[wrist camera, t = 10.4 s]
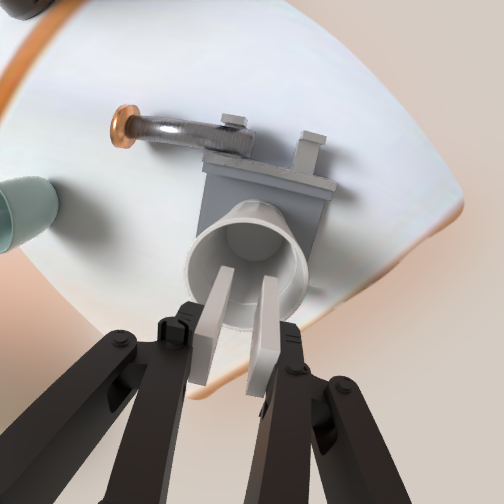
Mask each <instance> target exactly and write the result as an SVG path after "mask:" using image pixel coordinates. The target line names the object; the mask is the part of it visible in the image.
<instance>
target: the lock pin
mask: <svg viewBox="0 0 504 504" xmlns="http://www.w3.org/2000/svg"><path fill="white" fill-rule="evenodd" d="M255 133H256V132H254V131H249V130H244V129H239V128H233V127H228V126H222V125H216V124H209V123H203V122H196V121H188V120H180V119H172V118H162V117H152V116H140V111H139V109H138V107H137V106H135V105H122V106H120V107H119V108H118V109H117V110H116V112H115V114H114V116H113V119H112V122H111V127H110V137H111V141H112V144H113V145H114V146H115V147H117V148H125V149H128V148H130V147H131V146H132V145H133V144H134V143H135V141H136V140H144V141H153V142H161V143H168V144H175V145H182V146H189V147H195V148H201V149H207V150H213V151H218V152H224V153H229V154H234V155H239V156H244V157H249V158H250V156H251V153H252V149H253V144H254V140H255Z"/></svg>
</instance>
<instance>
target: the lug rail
mask: <svg viewBox="0 0 504 504" xmlns="http://www.w3.org/2000/svg"><path fill="white" fill-rule="evenodd" d="M221 122H223V123H225V126H228V127H233V128H239V129H244V130H248V129H247V128H246V126H247V122H248V120H247V119H246V117H240V116H235V115H229V114H222V118H221ZM325 142H326V136H323V135H319V134H316V133H312V132H308V131H302V132H301V135H300V139H299V140H297V144H296V148H295V152H294V157H293V161H292V165H291V169H289V168H285V167H281V166H277V165H272V164H268V163H263V162H259V161H254V160H249V159H245V158H242V156H239V155H234V154H229V153H224V152H219V153H213V152H209V153H204V155H203V160H202V161H203V162H209V163H214V164H219V165H225V166H230V167H235V168H240V169H245V170H249V171H254V172H259V173H263V174H268V175H272V176H276V177H281V178H285V179H289V180H293V181H297V182H301V183H305V184H309V185H313V186H317V187H321V188H324V189H328V190H332V191H335V190H336V186H337V182H335V181H332V180H330V179H328V178H324V177H321V176H317V175H313V173H314V169H315V164H316V160H317V156H318V152H319V148H320V145H323V144H325Z"/></svg>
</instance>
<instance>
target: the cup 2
mask: <svg viewBox="0 0 504 504" xmlns="http://www.w3.org/2000/svg"><path fill="white" fill-rule="evenodd" d="M221 266H226V267H230V268H235V269H234V274H233V279H232V284H231V289H230V294H229V299H228V303H227V308H226V312H225V316H224V319H223V323H222V327H225V328H228V329H231V330H236V331H244V332H253V323H254V314H255V311H256V307H257V303H258V299H259V295H260V291H261V287H262V284H263V280H264V276H265V275H266V276H271V277H275V278H278V297H279V321H283V322H284V321H285V320H287V319H288V318H289V317H290V316H291V315H292V314H293V313H294V312H295V311H296V310H297V309H298V308H299V306H300V305H301V303H302V301H303V299H304V297H305V294H306V291H307V288H308V281H309V272H308V266H307V262H306V259H305V256H304V254H303V252H302V250H301V248H300V246H299V245H298V243H297V241H296V240H295V238H294V236H293V234H292V233H291V231H290V229H289V227H288V225H287V223H286V221H285V218H284V216H283V214H282V213H281V211H280V210H279V209H278V208H277V207H276V206H275V205H273V204H272V203H270V202H268V201H265V200H261V199H249V200H245V201H243V202H241V203H239V204H237V205H236V206H235V207H234V208H233V209H232V210H231V211H230V212H229V213H227V214H226V215H225V216H224V217H222V218H221V219H220V220H218V221H217V222H216V223H214V224H213V225H211V226H210V227H209V228H207V229H206V230H204V231H203V232H202V233H201V234H200V235H199V236H198V237H197V238H196V239H195V241H194V242H193V243H192V245H191V247H190V249H189V251H188V253H187V256H186V259H185V264H184V281H185V286H186V289H187V292H188V294H189V296H190V298H191V300H192V302H194V303H198V304H202V305H206V302H207V300H208V297H209V295H210V292H211V290H212V287H213V285H214V283H215V280H216V278H217V275H218V273H219V271H220V268H221Z"/></svg>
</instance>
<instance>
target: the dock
mask: <svg viewBox="0 0 504 504" xmlns="http://www.w3.org/2000/svg"><path fill="white" fill-rule="evenodd" d="M202 172H206V173H207V176H206V182H205V187H204V193H203V198H202V204H201V210H200V216H199V222H198V228H197V234H196V238H197V237H198V236H199V235H200V234H201V233H202V232H203V231H204V230H206V229H207V228H209V227H210V226H211V225H213V224H214V223H216V222H217V221H218V220H220V219H221V218H222V217H224V216H225V215H226V214H227V213H229V212H230V211H231V210H232V209H233V208H234V207H235V206H236V205H237V204H239V203H241V202H243V201H245V200H249V199H261V200H265V201H268V202H270V203H272V204H273V205H275V206H276V207H277V208H278V209H279V210H280V211H281V213H282V214H283V216H284V218H285V221H286V223H287V225H288V227H289V229H290V231H291V233H292V234H293V236H294V238H295V240H296V241H297V243H298V245H299V246H300V248H301V250H302V252H303V254H304V256H305V259H306V262H307V261H308V258H309V255H310V251H311V248H312V244H313V241H314V238H315V234H316V230H317V227H318V223H319V220H320V216H321V212H322V209H323V205H324V201H325V199H326V200H330V201H331V198H332V194H333V191H332V190H328V189H324V188H321V187H317V186H313V185H309V184H305V183H301V182H297V181H293V180H289V179H285V178H281V177H276V176H272V175H268V174H263V173H259V172H254V171H249V170H245V169H240V168H235V167H230V166H225V165H219V164H214V163H209V162H204V164H203V169H202Z"/></svg>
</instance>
